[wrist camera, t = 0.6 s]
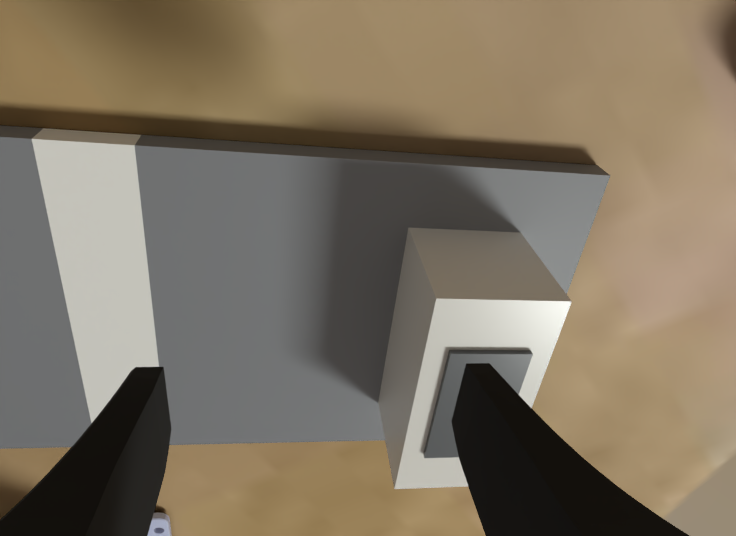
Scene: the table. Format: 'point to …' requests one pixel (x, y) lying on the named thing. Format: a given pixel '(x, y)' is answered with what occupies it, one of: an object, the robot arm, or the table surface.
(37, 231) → the board
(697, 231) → the table surface
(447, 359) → the block
